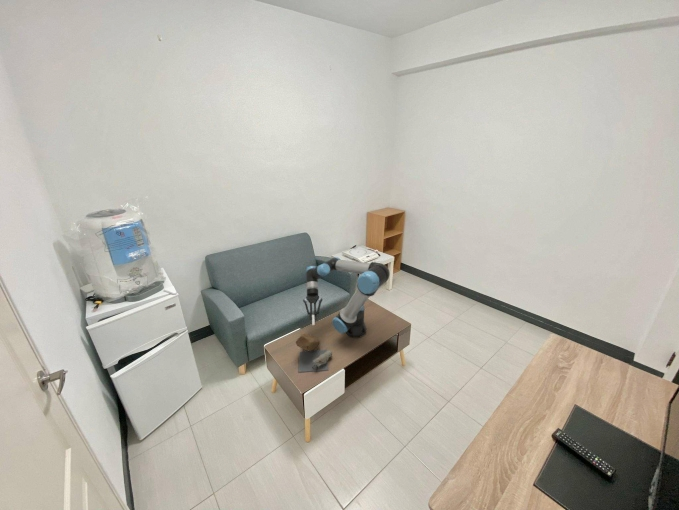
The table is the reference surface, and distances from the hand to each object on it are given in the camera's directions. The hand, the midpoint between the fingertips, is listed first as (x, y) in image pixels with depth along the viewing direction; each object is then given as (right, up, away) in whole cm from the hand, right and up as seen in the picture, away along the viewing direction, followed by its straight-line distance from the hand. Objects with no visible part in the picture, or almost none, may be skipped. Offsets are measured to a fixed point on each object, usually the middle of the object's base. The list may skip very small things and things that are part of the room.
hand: (313, 325), depth 172 cm
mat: (0, -22, -2) cm, 22 cm away
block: (-1, -14, +9) cm, 16 cm away
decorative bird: (+6, -22, -5) cm, 24 cm away
